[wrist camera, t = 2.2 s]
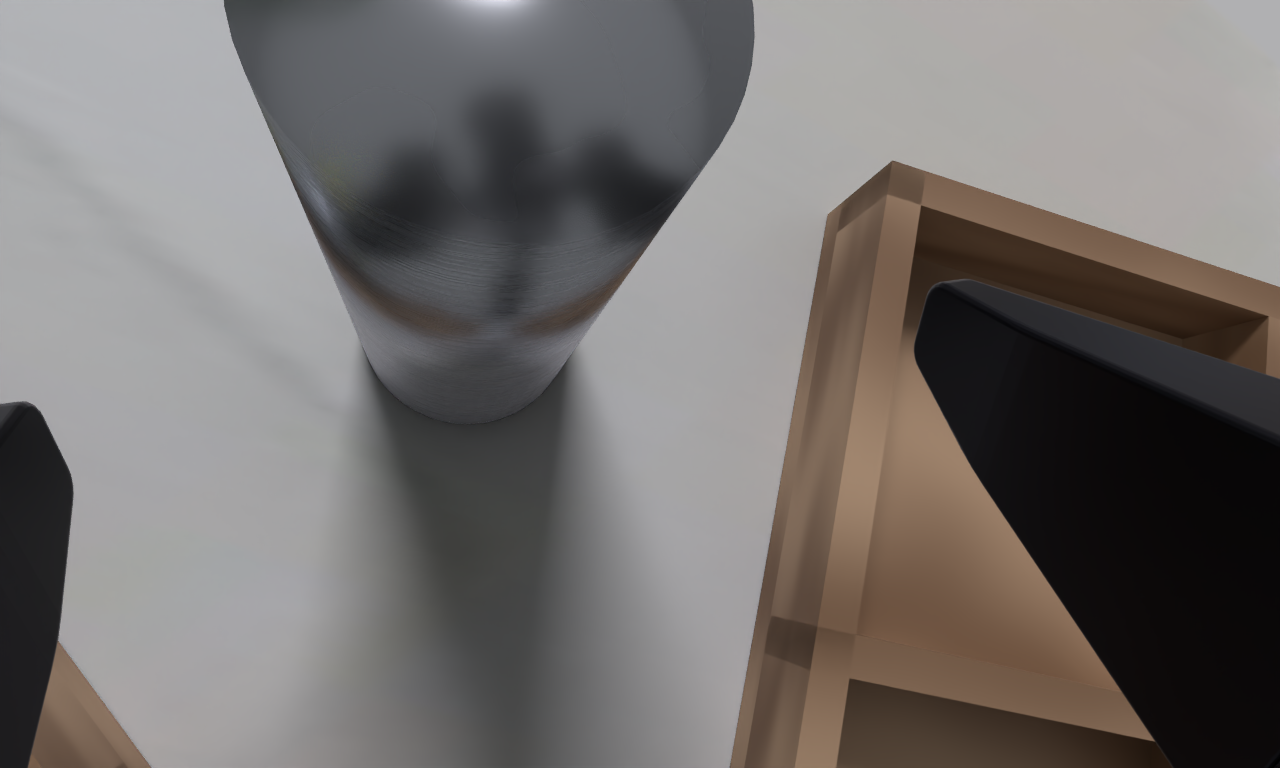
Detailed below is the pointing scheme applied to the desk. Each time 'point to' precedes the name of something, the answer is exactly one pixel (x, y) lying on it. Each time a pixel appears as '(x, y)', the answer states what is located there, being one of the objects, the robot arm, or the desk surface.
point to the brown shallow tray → (79, 725)
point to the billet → (489, 166)
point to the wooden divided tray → (945, 499)
